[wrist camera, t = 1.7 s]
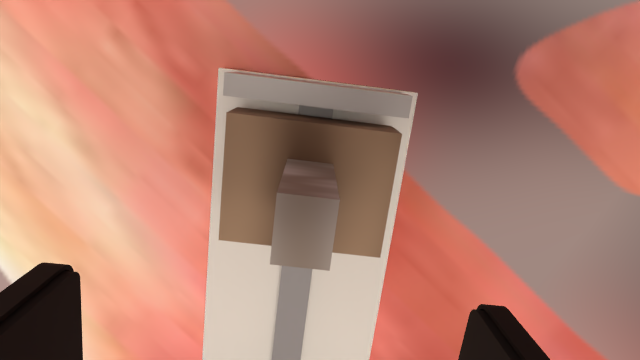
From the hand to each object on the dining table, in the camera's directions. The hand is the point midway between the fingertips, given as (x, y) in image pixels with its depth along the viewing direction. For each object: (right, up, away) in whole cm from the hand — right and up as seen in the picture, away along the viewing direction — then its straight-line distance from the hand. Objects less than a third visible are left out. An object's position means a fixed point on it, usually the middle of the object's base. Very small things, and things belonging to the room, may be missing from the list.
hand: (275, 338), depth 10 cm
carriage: (0, +4, +15) cm, 15 cm away
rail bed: (-1, -4, +20) cm, 20 cm away
